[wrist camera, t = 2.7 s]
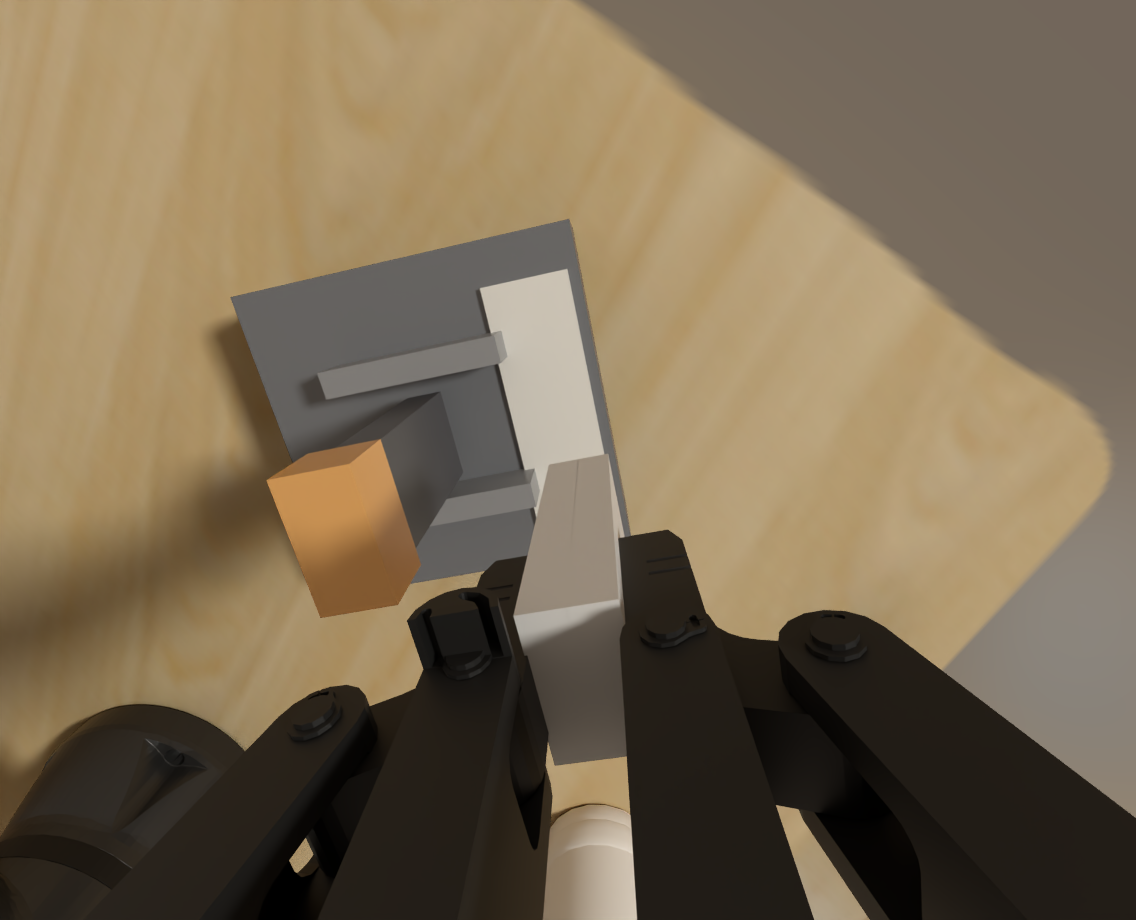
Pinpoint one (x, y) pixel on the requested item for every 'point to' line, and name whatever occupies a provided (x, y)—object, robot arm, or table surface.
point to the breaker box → (448, 374)
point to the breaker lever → (369, 505)
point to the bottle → (590, 866)
